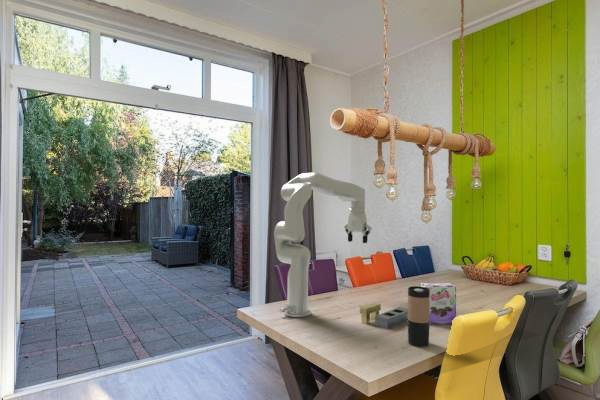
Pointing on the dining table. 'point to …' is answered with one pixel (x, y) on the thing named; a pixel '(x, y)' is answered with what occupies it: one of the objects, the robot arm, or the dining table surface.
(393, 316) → the grey cinder block
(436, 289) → the candy box
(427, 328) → the travel mug
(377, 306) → the khaki arch block
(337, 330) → the dining table surface
